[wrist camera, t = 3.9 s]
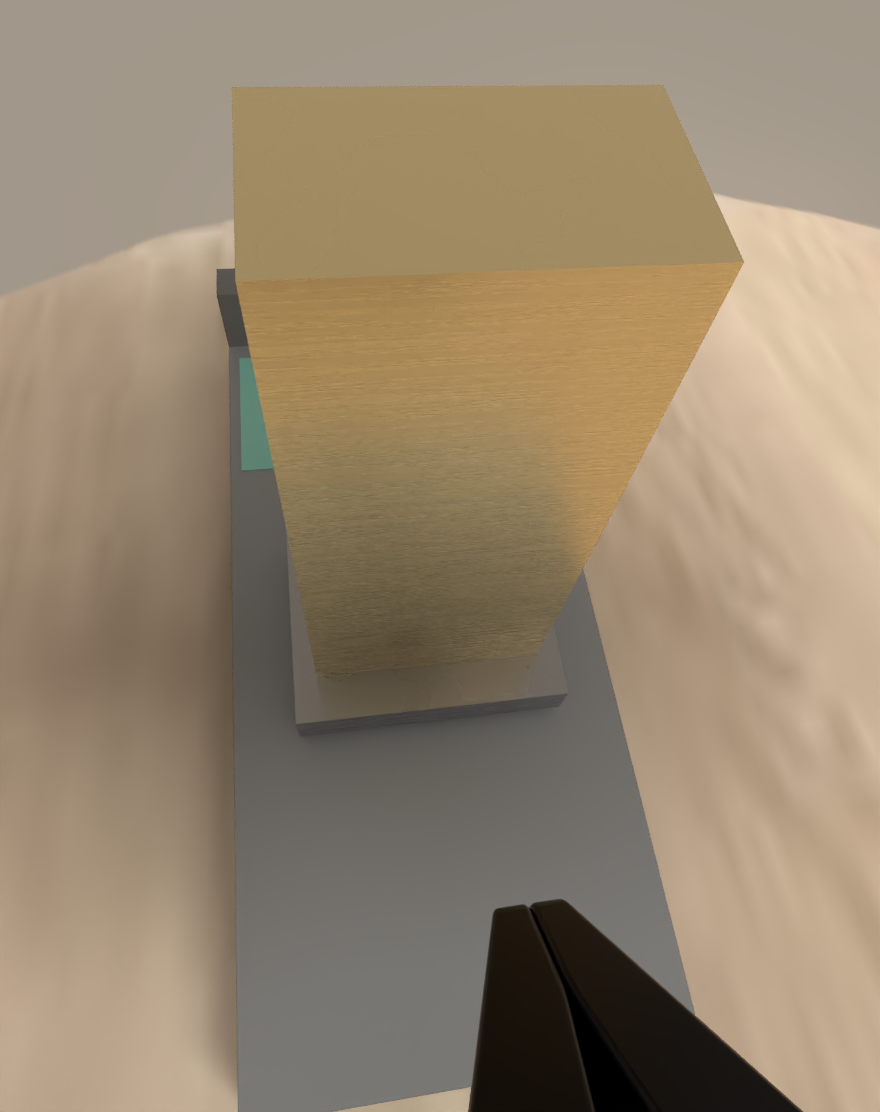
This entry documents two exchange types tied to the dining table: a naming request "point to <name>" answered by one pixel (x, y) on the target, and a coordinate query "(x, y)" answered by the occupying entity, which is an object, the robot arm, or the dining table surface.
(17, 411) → the dining table surface
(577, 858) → the rail
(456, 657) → the lever
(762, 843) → the dining table surface
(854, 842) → the dining table surface
